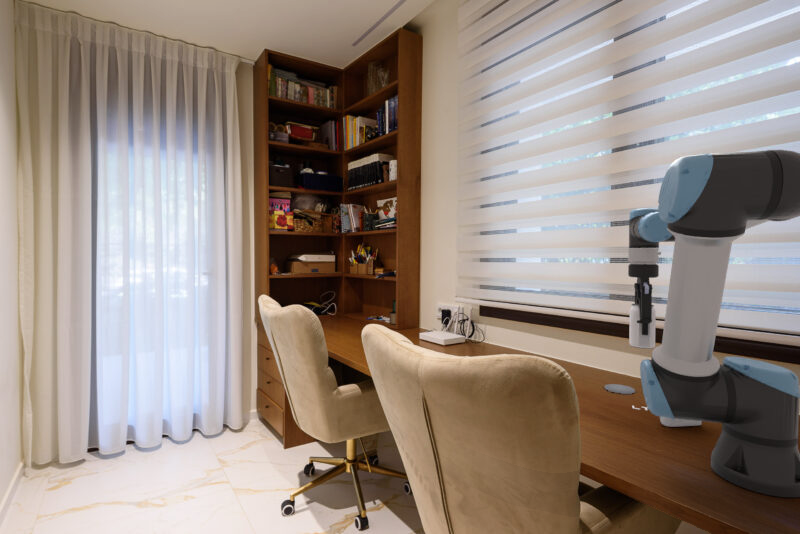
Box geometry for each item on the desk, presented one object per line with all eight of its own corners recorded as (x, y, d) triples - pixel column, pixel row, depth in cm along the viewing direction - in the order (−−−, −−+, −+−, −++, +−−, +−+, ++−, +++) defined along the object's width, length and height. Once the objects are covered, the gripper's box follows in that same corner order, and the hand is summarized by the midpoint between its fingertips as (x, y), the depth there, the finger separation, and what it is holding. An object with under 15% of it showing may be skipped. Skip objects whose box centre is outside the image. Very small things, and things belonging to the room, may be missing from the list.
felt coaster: (637, 395, 134) (637, 394, 134) (605, 392, 138) (605, 390, 138) (633, 387, 143) (633, 385, 143) (603, 384, 146) (603, 382, 146)
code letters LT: (650, 410, 122) (650, 410, 122) (633, 408, 123) (633, 408, 123) (649, 407, 124) (649, 407, 124) (631, 405, 126) (631, 405, 126)
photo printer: (691, 419, 115) (692, 374, 115) (705, 426, 111) (706, 379, 111) (656, 422, 114) (657, 376, 113) (669, 428, 110) (670, 381, 109)
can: (631, 348, 121) (632, 305, 120) (626, 343, 127) (627, 303, 127) (657, 349, 119) (658, 306, 119) (651, 344, 125) (652, 303, 125)
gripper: (665, 264, 112) (664, 352, 113) (652, 262, 130) (651, 338, 131) (633, 264, 114) (631, 349, 115) (624, 262, 133) (623, 336, 133)
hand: (642, 343), depth 123 cm, fingers closed on can, 6 cm apart
